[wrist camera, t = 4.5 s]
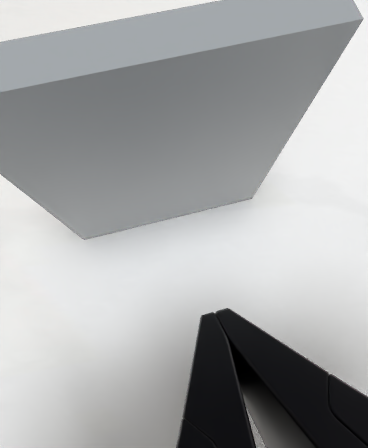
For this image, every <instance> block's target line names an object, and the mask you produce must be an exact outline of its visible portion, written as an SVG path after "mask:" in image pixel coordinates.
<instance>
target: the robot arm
mask: <svg viewBox="0 0 368 448" xmlns="http://www.w3.org/2000/svg"><path fill="white" fill-rule="evenodd" d="M245 405H246V406H245ZM246 407H247V409H248V411H249V413H250V415H251V417H252V419H253V421H254V423H255V425H256V427H257V429H258V431H259V433H260V436H261V438H262V440H263V442H264V444H265V446H266V448H368V396H366V395H364V394H363V393H361V392H359V391H358V390H356V389H354V388H353V387H351V386H350V385H348V384H346V383H345V382H343V381H342V380H340V379H338V378H337V377H335V376H334V375H332V374H330V375H329V373H328V372H327V371H325V370H324V369H322V368H321V367H319V366H317V365H316V364H314V363H313V362H311V361H310V360H308V359H307V358H305V357H303V356H302V355H300V354H299V353H297V352H296V351H294V350H293V349H291V348H289V347H288V346H286V345H285V344H283V343H282V342H280V341H279V340H277V339H276V338H274V337H272V336H271V335H269V334H268V333H266V332H265V331H263V330H262V329H260V328H258V327H257V326H255V325H254V324H252V323H251V322H249V321H248V320H246V319H245V318H243V317H241V316H240V315H238V314H237V313H235V312H234V311H232V310H231V309H228V308H226V309H223V310H219V311H216V313H213V312H212V313H208V314H205V315H202V316H201V318H200V324H199V329H198V335H197V340H196V346H195V351H194V357H193V362H192V368H191V373H190V379H189V384H188V390H187V395H186V401H185V406H184V412H183V419H182V421H181V426H180V431H179V437H178V441H177V446H176V448H256V445H255V441H254V437H253V433H252V429H251V426H250V422H249V418H248V414H247V410H246Z"/></svg>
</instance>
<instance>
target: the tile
mask: <svg viewBox="0 0 368 448" xmlns="http://www.w3.org/2000/svg"><path fill="white" fill-rule="evenodd" d="M362 20H363V17H362V15H361V13H360V12H359V10H358V8H357V6H356V4H355V2H354V0H221V1H215V2H210V3H205V4H199V5H194V6H189V7H183V8H178V9H173V10H167V11H162V12H157V13H152V14H146V15H141V16H136V17H130V18H125V19H120V20H114V21H109V22H104V23H99V24H93V25H88V26H83V27H77V28H72V29H67V30H61V31H56V32H51V33H46V34H40V35H35V36H30V37H24V38H19V39H14V40H8V41H3V42H0V174H1V175H2V176H3V177H5V178H6V179H7V180H8V181H10V182H11V183H12V184H13V185H15V186H16V187H17V188H19V189H20V190H21V191H22V192H24V193H25V194H26V195H28V196H29V197H30V198H31V199H33V200H34V201H35V202H36V203H38V204H39V205H40V206H42V207H43V208H44V209H45V210H47V211H48V212H49V213H50V214H52V215H53V216H54V217H56V218H57V219H58V220H59V221H61V222H62V223H63V224H65V225H66V226H67V227H68V228H70V229H71V230H72V231H73V232H75V233H76V234H77V235H79V236H80V237H81V238H82V239H84V240H86V239H90V238H94V237H98V236H102V235H106V234H110V233H114V232H118V231H122V230H126V229H130V228H134V227H138V226H142V225H147V224H151V223H155V222H159V221H163V220H167V219H171V218H175V217H179V216H183V215H187V214H191V213H195V212H199V211H203V210H207V209H212V208H216V207H220V206H224V205H228V204H232V203H236V202H240V201H244V200H248V199H252V198H253V196H254V194H255V193H256V191H257V190H258V188H259V186H260V185H261V183H262V181H263V180H264V178H265V177H266V175H267V173H268V172H269V170H270V169H271V167H272V165H273V164H274V162H275V161H276V159H277V157H278V156H279V154H280V153H281V151H282V149H283V148H284V146H285V144H286V143H287V141H288V140H289V138H290V136H291V135H292V133H293V132H294V130H295V128H296V127H297V125H298V124H299V122H300V120H301V119H302V117H303V115H304V114H305V112H306V111H307V109H308V107H309V106H310V104H311V103H312V101H313V99H314V98H315V96H316V95H317V93H318V91H319V90H320V88H321V86H322V85H323V83H324V82H325V80H326V78H327V77H328V75H329V74H330V72H331V70H332V69H333V67H334V66H335V64H336V62H337V61H338V59H339V57H340V56H341V54H342V53H343V51H344V49H345V48H346V46H347V45H348V43H349V41H350V40H351V38H352V37H353V35H354V33H355V32H356V30H357V28H358V27H359V25H360V24H361V22H362Z"/></svg>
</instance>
